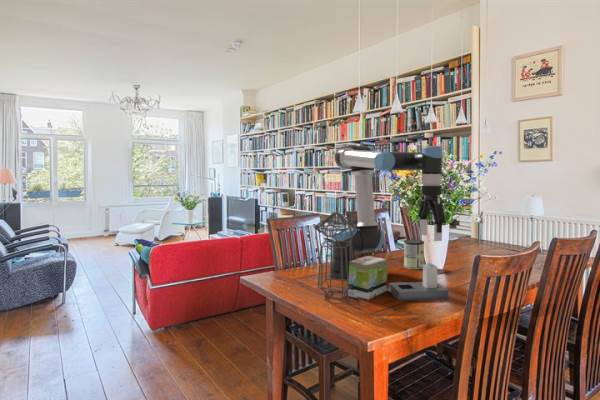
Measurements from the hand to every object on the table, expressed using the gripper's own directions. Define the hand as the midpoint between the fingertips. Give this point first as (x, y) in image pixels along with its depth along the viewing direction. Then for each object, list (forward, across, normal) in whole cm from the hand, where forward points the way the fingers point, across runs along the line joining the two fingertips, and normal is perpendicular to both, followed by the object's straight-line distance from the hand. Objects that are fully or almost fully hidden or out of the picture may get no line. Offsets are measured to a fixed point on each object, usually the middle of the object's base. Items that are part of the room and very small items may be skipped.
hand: (430, 237), depth 152 cm
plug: (+23, 0, 0) cm, 23 cm away
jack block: (+24, 0, +5) cm, 25 cm away
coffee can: (+25, +48, -12) cm, 55 cm away
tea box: (+24, +5, +24) cm, 35 cm away
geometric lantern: (+24, +5, +37) cm, 45 cm away
